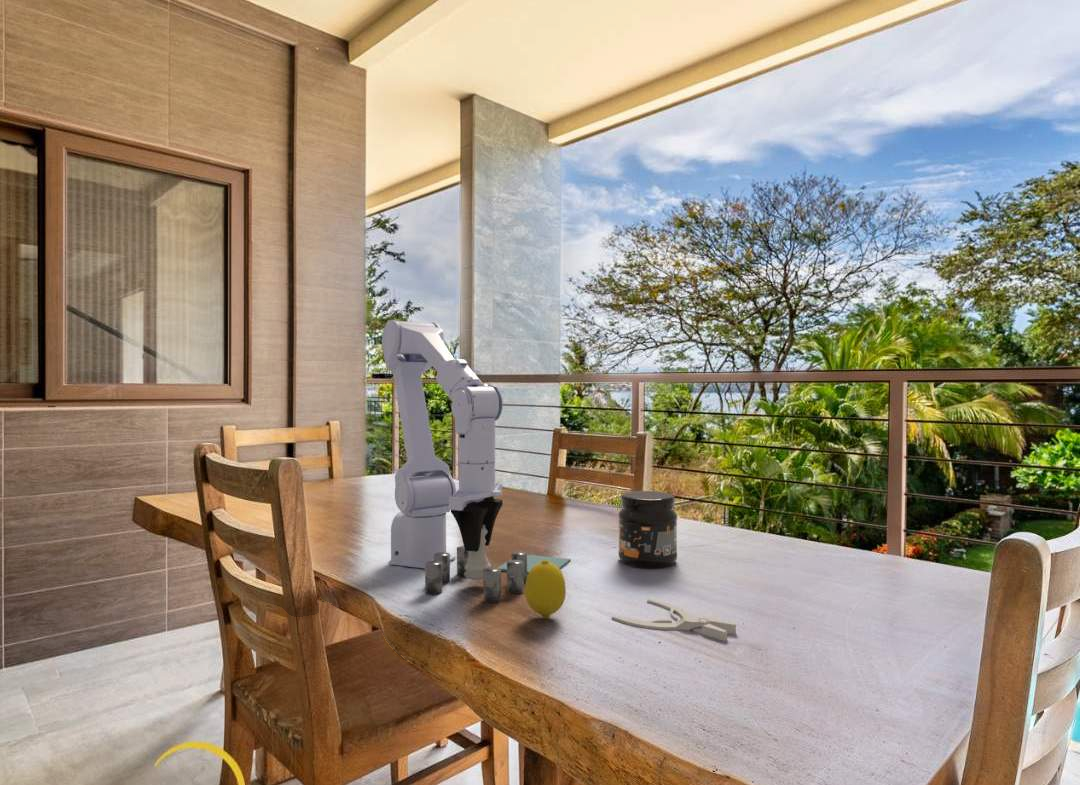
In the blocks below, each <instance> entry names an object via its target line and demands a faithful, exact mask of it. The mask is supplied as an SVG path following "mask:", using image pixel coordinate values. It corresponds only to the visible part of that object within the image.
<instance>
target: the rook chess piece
mask: <svg viewBox="0 0 1080 785" xmlns="http://www.w3.org/2000/svg"><path fill="white" fill-rule="evenodd" d="M487 532H488V531H487V530H486V528H485V525H482V529H481V540H480V547H479V550H478V551H477V552H475V551H470V553H469V558H468V560H467V564H466V565H465V568H464V569H465V570H466V572H465V573H464V575H465V578H466V579H468V580H474V581H475V580H476V581H478V580H479V581H480V580H483V570H484V569H485V568H491V567H492V565H491V563H490V562H489V559H488V556H487V551H486V546H485V543H486V540H485V535H486V534H487Z"/></svg>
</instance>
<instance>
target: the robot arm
mask: <svg viewBox="0 0 1080 785" xmlns="http://www.w3.org/2000/svg"><path fill="white" fill-rule="evenodd" d="M383 328H384V329H383V331H382V336H381V347H382V353H383V358H384V359H383V360H384V364H385V366H386V369H387V370H389V372H391V373H392V375H393V376H392V377H393V382H394V387H395V393H396V400H397V406H398V410H399V411H398V412H399V418H400V425H401V431H402V436H403V443H404V448H405V449H404V450H405V455H406V462H405V463H404V464H403V465H402V466H401V467H400V468H399V469H398V470H397V471H396V472H395V475H394V484H395V486H394V501H395V504H396V508H397V509H398V510H399V511H400V512H398V513H396V515H395V516H394V517H393V519H392V521H391V525H390V560H389V561H388V565H393V566H394V565H395V566H401V567H402V566H403V567H408V568H409V567H410V568H419V569H425V563H426V562H429V561H434V554H435V553H439V552H447V513H451V515H452V516H453V518H454V520H455V522H456V524H457V526H458V528H459V531H460V532H459V533H460V536H461V539H462V543H463V546H464V548H465V551H475V552H477V551H478V550H479V547H480V540H481V529H482V525H485V528H486V530H487V531H488V532H487V534H486V535H485V540H486V543H485V547H486V546H487V547H488V546H490V543H491V540H492V535H493V531H494V526H495V523H496V519H497V517H498V514H499V512H500V510H501V508H502V506H503V499H499V498H495V497H500V496H502V495H503V483H500V482H496V421H498V420H499V418H500V417H501V415H502V412H503V409H504V404H503V403H504V402H503V398H502V394H501V391H500V390H499V389H498V388H499V387H497V386H496V385H494V384H487V383H484V382H482V380H481V379H480V378H479V377H478V376H477V374H476V372H474V371H473V370H472V368H471V367H470V366H469V365H468V361H466V359H461V358H454V357H453V355H452V353H451V352H450V350H449V349H448V347H447V345H446V344H445V342H444V329H443V328H441V326H440V325H439V324H438V322H421V321H420V322H418V321H403V320H397V319H390V320H388V322H386V324H385V325H384V327H383ZM431 368H434V370H435V371H436V372H437V373H436V382H437V383H438V385H439V386H440V388H441V389H442V390H443V392H444V393H445V394H446V396H447V397H448V398H449V399H450V402H451V404H450V405H451V406H450V407H451V413H452V416H453V419H454V423H455V424H454V426H455V428H454V429H455V430H456V431H455V432H456V433H457V434H458V489H457V486H456V482H455V480H454V478H453V476H452V474H451V470H450V466H449V465H448V463H446V462H444V461H443V460H441V459H440V458H438V457H437V456H436V454H435V449H434V442H433V436H432V431H431V425H430V420H429V413H428V409H427V408H428V407H427V403H426V396H425V392H424V385H423V380H422V375H423V374H424V373H425V372H427V371H429V370H431ZM456 559H457V555H452V554H450V562H451V561H453V560H456Z"/></svg>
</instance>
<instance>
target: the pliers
mask: <svg viewBox="0 0 1080 785" xmlns="http://www.w3.org/2000/svg"><path fill="white" fill-rule="evenodd" d="M646 602H647V603H649V604H652V605H654V606H658V607H660V608H663V609H666V610H668V611H669V615H670V617H671V619H652V620H647V621H644V620H643V621H642V620H636V619H631V618H628V617H627V618H626V617H621V616H617V615H612V616H611V619H612V620H613V621H615V622H618V623H621V624H626V625H629V626H633V627H639V628H644V629H652V630H660V631H661V630H663V631H670V630H671V631H676V630H677V631H678V630H679V631H687V632H688V631H690V630H691V631H693V632H695V633H697V634H700V635H704V636H707V637H710V638H713V639H716V640H719V641H722V642H725V641H727V640H728V634H730V635H736V634H737V623H736V622H733V621H727V620H723V619H720V618H715V617H711V616H705V615H703V616H702V615H698V616H693V615H692V613H691V612H690V611H688V610H686V609H684V608H682V607H680V606H677V605H675V604H672V603H669V602H665V601H661V600H656V599H651V598H648V599H647V600H646ZM675 614H676V615H678V616H679V617H680V619H679V620H678V616H676V615H675ZM672 619H673V620H674V621H677V622H673V620H672Z"/></svg>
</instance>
